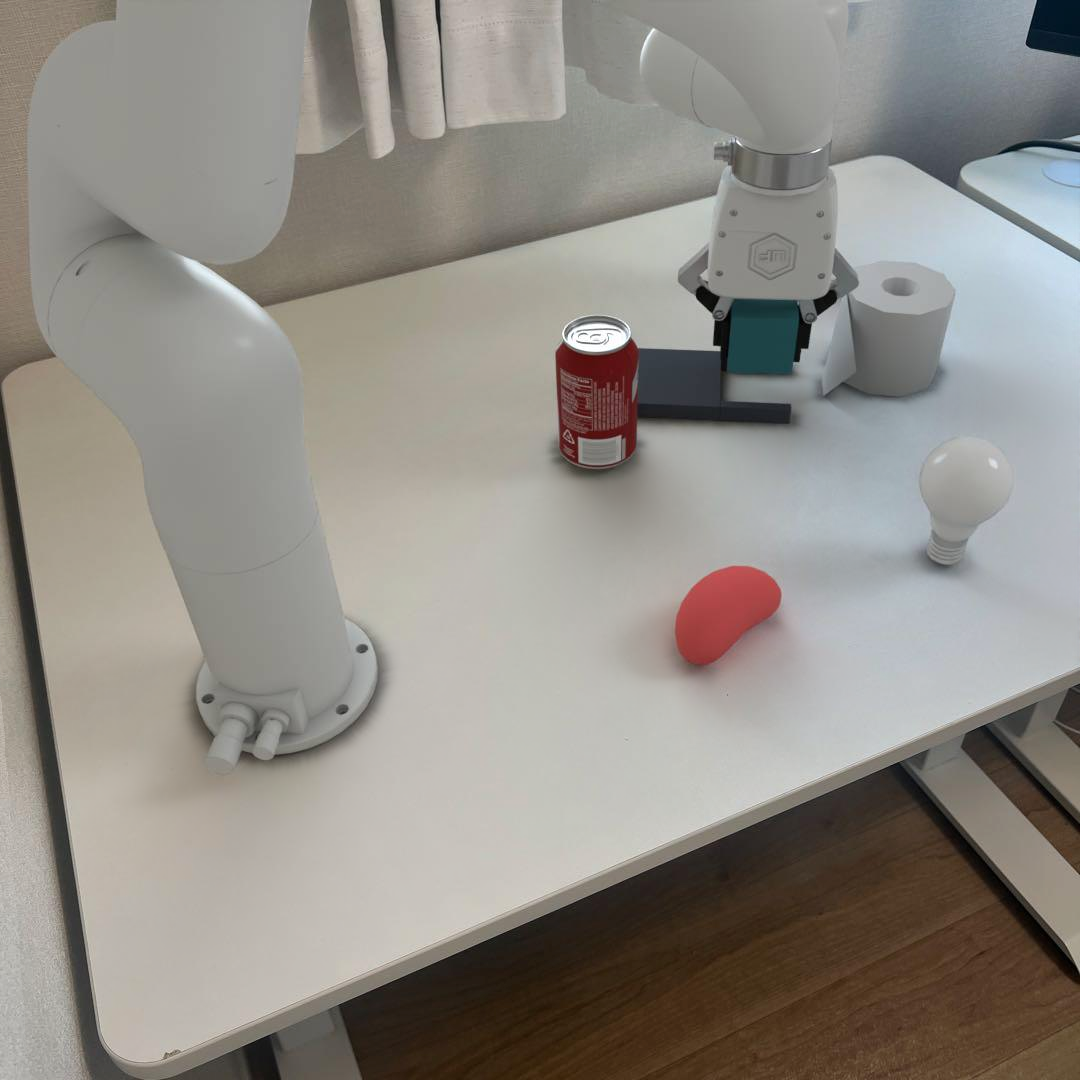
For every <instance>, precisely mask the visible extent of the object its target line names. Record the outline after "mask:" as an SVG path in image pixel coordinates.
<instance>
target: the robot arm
mask: <svg viewBox="0 0 1080 1080" xmlns="http://www.w3.org/2000/svg"><path fill="white" fill-rule="evenodd" d="M312 2H313V0H116V7H115V9H116V10H115V20H113V19H112V20H111V19H110V20H103V21H99V22H95V23H94V22H93V23H91V24H88V25H85V26H82V27H81V28H79V29H77V30H75V31H73V32H72V33H71V34H69V35H68V36H66V37H65V38H64V39H63V40H62V41H61V42H59V43H58V45H57V46H56V47H55V48H54V49H53V50H52V51H51V53H50V54H49V56H48V57H47V59H46V60H45V62H44V63H43V65H42V67H41V69H40V70H39V71H40V72H39V74H38V76H37V79H36V81H35V84H34V88H33V90H32V95H31V98H30V102H29V103H30V104H29V108H28V109H29V110H28V115H27V145H26V146H27V149H26V150H27V153H26V154H27V199H28V200H27V201H28V238H29V239H28V241H29V243H28V244H29V272H30V288H31V296H32V304H33V309H34V315H35V318H36V322H37V325H38V328H39V331H40V332H41V334H42V337H43V339H44V341H45V342H46V344H47V346H48V347H49V348H50V350H51V351H52V353H53V354H54V355H55V357H56V358H57V359H58V360H59V361H60V362H61V363H62V364H63V365H64V366H65V367H66V369H67V370H69V372H71V374H73V375H74V376H75V377H76V378H77V379H78V380H79V381H80V382H81V383H82V384H83V385H84V386H85V387H86V388H88V389H89V390H90V391H91V393H92V394H93V395H94V396H95V397H96V399H97V400H99V402H100V403H102V405H104V406H105V407H106V408H107V409H108V410H109V411H110V412H111V413H112V414H113V415H114V416H115V418H117V420H118V421H119V422H120V423H121V425H122V426H123V428H124V429H125V430H126V431H127V433H128V434H129V436H130V438H131V440H132V441H133V443H134V446H135V447H136V450H137V453H138V455H139V458H140V461H141V468H142V475H143V487H144V494H145V499H146V502H147V506H148V510H149V513H150V516H151V519H152V522H153V525H154V528H155V530H156V532H157V536H158V538H159V540H160V541H159V542H160V543H161V546H162V549H163V550H164V552H165V554H166V557H167V560H168V562H169V565H170V568H171V570H172V573H173V576H174V579H175V582H176V585H177V587H178V589H179V592H180V595H181V598H182V600H183V604H184V605H185V608H186V611H187V614H188V616H189V619H190V622H191V625H192V627H193V630H194V632H195V635H196V638H197V640H198V643H199V646H200V648H201V651H202V653H203V657H204V659H205V660H204V661H203V663H202V666H201V668H200V671H199V672H198V675H197V679H196V680H197V681H196V685H195V701H196V705H197V708H198V711H199V713H200V716H201V718H202V720H203V722H204V725H205V726H206V727H207V729H208V730H209V731H210V733H211V734H212V735H213V736H214V738H213V740H212V743H211V745H210V747H209V749H208V751H207V754H206V757H205V759H204V762H203V764H204V766H205V768H206V769H208V770H209V772H211V773H214V774H216V775H221V776H226V775H231V774H232V773H234V771H235V768H236V766H237V763H238V761H239V758H240V755H241V753H242V752H246V753H249V754H253V756H254V757H255V758H257V759H259V760H261V761H271V760H272V759H273V758H274V756H275V755H285V754H292V753H296V752H297V753H298V752H301V751H305V750H308V749H311V748H313V747H316V746H318V745H320V744H321V745H322V744H324V743H326V742H328V741H330V740H331V739H333V738H334V737H336V736H337V735H339V734H340V733H342V732H344V731H345V730H346V729H348V728H349V726H351V725H352V724H353V723H355V721H357V719H359V717H360V716H361V714H362V713H363V712H364V711H365V710H366V709H367V707H368V705H369V704H370V701H371V700H372V698H373V696H374V693H375V690H376V687H377V683H378V675H379V674H378V673H379V667H378V661H377V655H376V652H375V650H374V649H375V648H374V646H373V643H372V641H371V640H370V639H369V637H368V636H367V634H366V632H364V631H363V630H362V629H361V628H360V627H359V626H358V625H357V624H356V623H354V622H352V621H351V620H349V619H348V618H346V617H345V616H344V612H343V607H342V602H341V599H340V594H339V591H338V586H337V581H336V578H335V573H334V569H333V564H332V561H331V560H332V559H331V557H330V556H331V555H330V552H329V548H328V543H327V539H326V535H325V530H324V525H323V522H322V517H321V514H320V509H319V504H318V501H317V498H316V493H315V490H314V485H313V480H312V476H311V472H310V467H309V462H308V456H307V451H306V442H305V434H304V433H305V431H304V382H303V374H302V370H301V365H300V362H299V358H298V356H297V354H296V350H295V349H294V346H293V345H292V343H291V341H290V340H289V337H288V336H287V335H286V333H285V331H283V329H282V327H281V326H280V325H279V324H278V323H277V321H276V320H275V319H274V318H273V317H272V316H271V315H270V314H269V313H268V312H267V311H266V310H265V309H264V308H263V307H262V306H261V305H260V304H259V303H257V302H256V300H254V299H253V298H251V297H250V296H249V295H248V294H246V293H245V292H243V291H242V290H241V289H239V287H236V286H235V285H233V284H232V283H230V282H229V281H228V280H227V279H225V278H224V277H222V276H221V275H219V274H218V273H216V272H215V271H214V270H212V269H210V268H209V267H207V266H205V265H203V264H202V263H205V264H210V265H211V264H212V265H230V264H231V265H232V264H237V263H241V262H244V261H247V260H249V259H251V258H254V257H256V256H257V255H258V254H261V252H263V251H264V250H265V249H266V248H267V247H269V245H270V244H271V242H272V241H273V240H274V239H275V238H276V237H277V235H278V233H279V231H280V230H281V228H282V226H283V223H284V221H285V219H286V216H287V212H288V208H289V203H290V200H291V194H292V189H293V183H294V175H295V174H294V173H295V166H296V165H295V164H296V152H297V142H298V131H299V120H300V108H301V97H302V87H303V78H304V77H303V74H304V66H305V65H304V64H305V55H306V44H307V33H308V27H309V21H310V14H311V8H312ZM604 2H606V3H608V4H609V5H611V6H612V7H613V8H615V9H617V10H618V11H620V12H621V13H623V14H624V15H627V16H628V17H631V18H632V19H635V20H636V21H638V22H640V23H642V24H644V25H646V26H648V27H650V28H652V29H651V31H650V32H649V34H648V35H647V37H646V39H645V41H644V42H643V46H642V49H641V52H640V57H639V76H640V81H641V83H642V87H643V89H644V91H645V92H646V94H647V95H648V96H649V98H650V99H651V100H652V101H653V102H654V103H655V104H656V105H658V106H659V107H660V108H661V109H663V110H664V111H666V112H669V113H670V114H673V115H675V116H677V117H680V118H683V119H685V120H688V121H691V122H694V123H697V124H699V125H702V126H705V127H707V128H712V129H715V130H719V131H721V132H723V133H726V134H729V135H730V136H729V138H728V140H727V139H725V140H724V141H715V142H714V146H713V147H714V149H713V160H714V161H722V162H724V163H725V162H727V165H726V167H725V168H724V169H723V171H722V174H721V177H720V181H719V185H718V188H717V192H716V196H715V203H714V208H713V213H712V220H711V227H710V235H709V241H708V242H707V243H706V244H705V245H704V246H703V247H702V248H701V249H700V250H699V251H697V253H696V254H694V255H693V256H692V257H691V258H690V259H689V260H687V262H685V263H684V264H683V265H682V266H681V267H680V268H679V270H678V271H677V282H678V283H679V285H680V286H682V287H683V288H684V289H685V290H687V291H688V292H689V293H690V294H692V295H694V296H695V299H696V300H697V301H698V302H699V303H700V304H701V305H702V306H703V307H704V308H705V309H706V310H707V311H708V312H709V313H710V314H711V317H712V319H713V320H714V323H713V335H712V346H713V347H719V348H720V349H719V351H720V360H726V358H728V350H729V338H730V327H731V305H732V303H733V301H734V299H735V298H736V299H765V300H798V312H799V324H798V331H797V339H796V346H795V354H794V361H793V363H800V361H801V355H802V350H809V346H810V342H811V333H812V326H813V323H814V324H815V322H817V320H818V317H819V316H820V315H821V314H823V313H824V312H825V311H827V310H828V309H830V308H831V307H833V306H834V305H835V304H836V303H837V302H838V300H839V299H842V297H843V296H845V295H846V294H848V293H849V292H851V291H852V290H854V289H855V288H857V287H858V285H859V280H858V275H857V273H856V272H855V268H854V267H852V265H851V264H850V263H849V262H848V261H847V260H846V258H845V257H844V256H843V255H842V254H841V253H840V251H839V250H838V249H837V248H836V241H837V230H838V229H837V226H838V213H839V212H838V210H839V209H838V208H839V206H838V205H839V204H838V203H839V201H838V200H839V199H838V198H839V197H838V195H839V194H838V181H837V177H836V176H835V172H834V171H833V169H832V168H830V166H829V165H830V158H831V151H832V144H833V135H834V129H835V122H836V121H835V120H836V115H837V109H838V100H839V96H840V89H841V81H842V79H841V78H842V70H843V65H844V56H845V50H846V42H847V37H848V36H847V35H848V29H849V18H850V9H849V3H848V0H604ZM731 135H732V136H731ZM706 270H707V280H705V279H703V277H702V276H701V275H702V274H703V273H704V272H705V271H706ZM832 276H834V277H835V279H833V280H832Z"/></svg>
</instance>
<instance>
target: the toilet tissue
mask: <svg viewBox="0 0 1080 1080" xmlns="http://www.w3.org/2000/svg"><path fill="white" fill-rule="evenodd" d="M854 270H855V272H856V273H857V275H858V280H859V285H858V287H857V288H855V289H854V290H852V291H851V292H849V293H848V294H846V295H845V296H843V297H842V298H840V302H839V307H838V311H837V315H836V319H835V324H834V327H833V332H832V335H831V340H830V344H829V348H828V352H827V356H826V360H825V364H824V369H823V372H822V376H821V385H822V387H821V388H822V396H826V395H827V394H829V392H831V391H832V390H833V389H835V388H836V387H838V386H840V384H842V383H844V384H846V385H847V386H850V387H852V388H854V389H856V390H858V391H859V392H862V393H864V394H867V395H871V396H872V395H874V396H883V397H884V396H886V397H896V398H902V397H906V396H909V395H913V394H915V393H918V392H921V391H924V390H927V389H928V388H929V386H930V384H931V382H932V380H933V379H934V377H935V375H936V373H937V370H938V366H939V362H940V358H941V353H942V350H943V345H944V341H945V338H946V334H947V331H948V330H947V329H948V327H949V321H950V318H951V313H952V310H953V305H954V302H955V297H956V293H957V289H956V288H955V287H954V285H953V284H952V283H951V282H950V281H949V279H948V277H946V275H945V274H944V273H942V272H941V271H937V270H935V269H932V268H930V267H927V266H925V265H922V264H919V263H917V262H909V261H908V262H907V261H894V260H893V261H892V260H880V261H875V262H872V263H870V264H866V265H862V266H859V267H855V268H854Z"/></svg>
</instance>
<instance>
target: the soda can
mask: <svg viewBox="0 0 1080 1080" xmlns="http://www.w3.org/2000/svg"><path fill="white" fill-rule="evenodd" d="M561 335H562V339H560V341H559V342H558V344H557V345H556V348H555V351H554V352H555V353H554V355H555V357H554V358H555V384H556V385H555V386H556V412H557V413H556V414H557V438H558V439H557V441H558V451H559V453H560V454H561V456H562V457H563V458H564V459H565V460H566V461H567V462H569V463H571V464H572V465H574V466H577V467H578V468H583V469H588V470H605V469H606V470H608V469H611V468H615V467H618V466H620V465H622V464H624V463H626V462H628V460H630V458H632V457H633V455H634V454H635V452H636V449H637V443H638V442H637V440H638V439H637V436H638V417H637V401H638V361H639V351H638V348H639V347H638V345H637V343H636V342H635V340H634V339H633V338H632V330H631V327H630V326H629V325H628V324H627V323H626V322H625V321H624V320H622V319H620V318H618V317H615V316H611V315H606V314H589V315H585V316H580V317H577V318H576V319H573V320H571V321H570V322H569V323H567V324H566V325H565V327H564V328H563V329H562V334H561Z"/></svg>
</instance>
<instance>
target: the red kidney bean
mask: <svg viewBox="0 0 1080 1080" xmlns="http://www.w3.org/2000/svg"><path fill="white" fill-rule="evenodd" d="M781 602H782V590H781V587H780V586H779V584H778V582H777V581H776V580H775V578H774V577H772V576H770V574H768V573H767V572H766V571H763V570H761V569H759V568H756V567H753V566H750V565H729V566H727V567H723V568H720V569H717V570H714V571H712V572H710V573H709V574H706V576H704V577H702V578H701V579H700V580H699V581H698V582H697V583H695V584H694V585H693V586H692V588H690V590H689V592H687V594H686V595H685V597H684V598H683V600H682V601H681V602H680V606H679V609H678V611H677V614H676V617H675V626H674V635H675V641H676V646H677V649H678V651H679V653H680V655H681V656H682V658H684V659H685V660H686V661H687V662H689V663H692V664H694V665H700V666H702V665H703V666H704V665H710V664H712V663H714V662H716V661H717V660H719V659H721V657H723V656H724V655H725V654H726V653H727V652H728V651H729V650H730V649H731V648H732V647H733V646H734V645H735V644H736V643H737V642H738V641H739V639H740V638H741V637H742V636H743V635H744V634H745V633H746V632H748V631H749V630H752V629H753V628H754V627H756V626H757V625H759V624H761V623H762V622H764V621H766V620H768V618H770V617H772V616H773V614H774V613H776V611H777V610H778V609H779V607H780V605H781Z"/></svg>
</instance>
